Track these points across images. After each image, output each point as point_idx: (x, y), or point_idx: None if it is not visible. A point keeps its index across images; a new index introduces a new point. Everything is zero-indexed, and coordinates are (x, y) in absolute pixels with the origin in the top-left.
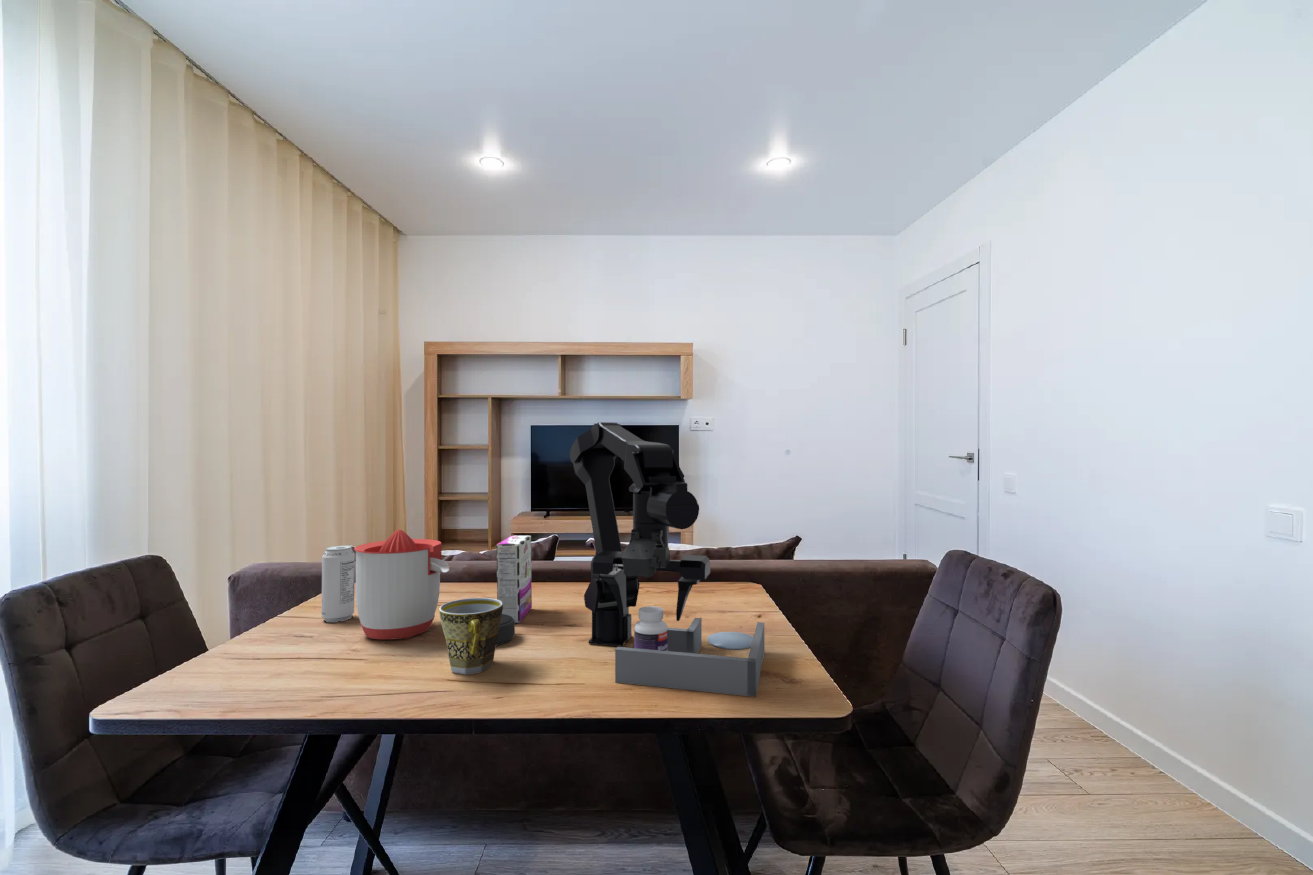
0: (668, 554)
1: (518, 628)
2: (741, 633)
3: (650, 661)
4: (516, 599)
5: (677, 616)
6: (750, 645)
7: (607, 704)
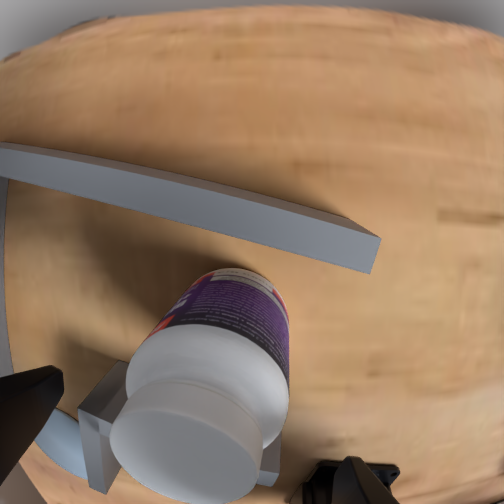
0: None
1: (496, 491)
2: (59, 463)
3: (217, 189)
4: None
5: (43, 374)
6: None
7: (359, 64)
